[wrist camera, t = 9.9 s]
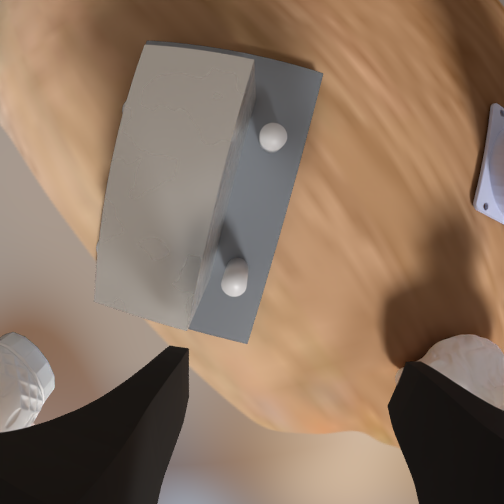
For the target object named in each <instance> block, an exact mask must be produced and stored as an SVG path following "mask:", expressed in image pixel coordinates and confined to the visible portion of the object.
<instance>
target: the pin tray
mask: <svg viewBox="0 0 504 504" xmlns="http://www.w3.org/2000/svg"><path fill="white" fill-rule="evenodd" d="M146 45H158V46H170V47H179V48H188V49H196V50H203V51H210V52H216V53H222V54H228V55H233V56H239V57H244V58H249V59H253V60H254V64H255V84H256V101H255V104H254V108H253V111H252V115H251V118H250V122H249V126H248V129H247V133H246V137H245V140H244V144H243V148H242V152H241V155H240V159H239V163H238V167H237V171H236V174H235V178H234V182H233V186H232V190H231V194H230V198H229V202H228V206H227V210H226V214H225V218H224V222H223V226H222V230H221V234H220V238H219V243H218V247H217V251H216V255H215V259H214V264H213V268H212V272H211V277H210V280H209V282H208V284H207V286H206V289H205V291H204V293H203V296H202V298H201V300H200V302H199V305H198V307H197V309H196V312H195V314H194V316H193V319H192V321H191V323H190V326H189V328H188V329H190V330H194V331H198V332H201V333H205V334H209V335H213V336H217V337H221V338H225V339H229V340H233V341H237V342H241V343H245V344H247V343H248V340H249V337H250V334H251V330H252V327H253V324H254V320H255V317H256V314H257V310H258V307H259V304H260V300H261V297H262V294H263V290H264V287H265V284H266V280H267V277H268V273H269V270H270V267H271V263H272V260H273V256H274V253H275V249H276V246H277V242H278V239H279V235H280V232H281V228H282V225H283V221H284V218H285V214H286V211H287V207H288V204H289V200H290V196H291V193H292V189H293V186H294V182H295V178H296V175H297V171H298V167H299V164H300V160H301V156H302V153H303V149H304V145H305V142H306V138H307V134H308V130H309V127H310V123H311V119H312V115H313V111H314V108H315V104H316V100H317V96H318V92H319V88H320V84H321V80H322V77H323V73H320V72H317V71H314V70H311V69H307V68H304V67H300V66H297V65H293V64H289V63H286V62H282V61H278V60H274V59H270V58H265V57H261V56H256V55H252V54H247V53H242V52H237V51H231V50H226V49H220V48H213V47H207V46H199V45H192V44H183V43H173V42H162V41H147V42H146ZM126 101H127V100H126ZM126 101H125V103H124V105H123V108H122V113H123V112H124V108H125V104H126ZM98 245H99V241H98V243H97V246H96V250H97V254H98Z"/></svg>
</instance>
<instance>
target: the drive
mask: <svg viewBox="0 0 504 504" xmlns="http://www.w3.org/2000/svg"><path fill="white" fill-rule="evenodd" d="M255 101H256V84H255V64H254V60H253V59H249V58H244V57H239V56H233V55H228V54H222V53H216V52H210V51H203V50H196V49H188V48H179V47H170V46H158V45H144V48H143V51H142V54H141V57H140V59H139V62H138V65H137V68H136V71H135V74H134V78H133V81H132V84H131V87H130V91H129V94H128V97H127V101H126V104H125V108H124V112H123V115H122V119H121V123H120V127H119V131H118V135H117V139H116V144H115V148H114V153H113V157H112V162H111V167H110V172H109V177H108V183H107V188H106V194H105V200H104V207H103V214H102V221H101V228H100V236H99V245H98V255H97V265H96V280H95V295H94V302H96V303H99V304H102V305H105V306H108V307H111V308H114V309H117V310H120V311H123V312H126V313H129V314H132V315H135V316H138V317H141V318H144V319H148V320H151V321H154V322H157V323H161V324H164V325H168V326H171V327H174V328H178V329H182V330H185V331H187V330H188V328H189V326H190V323H191V321H192V319H193V316H194V314H195V312H196V309H197V307H198V305H199V302H200V300H201V298H202V296H203V293H204V291H205V289H206V286H207V284H208V282H209V280H210V277H211V272H212V268H213V264H214V259H215V255H216V251H217V247H218V243H219V238H220V234H221V230H222V226H223V222H224V218H225V214H226V210H227V206H228V202H229V198H230V194H231V190H232V186H233V182H234V178H235V174H236V171H237V167H238V163H239V159H240V155H241V152H242V148H243V144H244V140H245V137H246V133H247V129H248V126H249V122H250V118H251V115H252V111H253V108H254V104H255Z"/></svg>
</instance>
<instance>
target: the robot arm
mask: <svg viewBox="0 0 504 504" xmlns="http://www.w3.org/2000/svg"><path fill="white" fill-rule="evenodd" d="M500 112H501V114H500ZM484 203H485V208H483V205H484ZM473 205H474V208H475V210H477V211H479V212H481V213H483V214H485V215H486V216H488V217H490V218H492V219H494V220H496V221H498V222H500V223H501V224H503V225H504V108H503V107H502V106H500V105H499V104H497V103H494V104H492V105H491V107H490V116H489V124H488V132H487V138H486V144H485V150H484V156H483V161H482V166H481V171H480V176H479V180H478V185H477V189H476V193H475V197H474V202H473ZM188 398H189V349H188V348H181V347H175V346H169V347H167V348H166V349H165V350H164V351H163V352H161V353H160V354H159V355H158V356H156V357H155V358H154V359H153V360H152V361H150V362H149V363H148V364H147V365H146V366H145V367H143V368H142V369H141V370H139V371H138V372H137V373H135V374H134V375H133V376H132V377H130V378H129V379H128V380H126V381H125V382H123V383H122V384H120V385H119V386H117V387H116V388H115V389H113V390H112V391H110V392H109V393H107V394H105V395H104V396H102V397H100V398H99V399H97V400H95V401H93V402H91V403H89V404H88V405H86V406H84V407H82V408H80V409H77V410H75V411H73V412H70V413H68V414H65V415H63V416H61V417H58V418H55V419H53V420H50V421H47V422H44V423H41V424H38V425H34V426H30V427H26V428H22V429H18V430H13V431H8V432H0V504H157V503H158V498H159V493H160V489H161V485H162V482H163V478H164V475H165V472H166V470H167V467H168V464H169V461H170V458H171V456H172V452H173V450H174V447H175V445H176V442H177V439H178V436H179V433H180V431H181V428H182V425H183V421H184V417H185V413H186V408H187V403H188ZM388 410H389V415H390V419H391V423H392V427H393V430H394V433H395V435H396V438H397V440H398V443H399V445H400V448H401V450H402V453H403V455H404V457H405V460H406V462H407V465H408V468H409V470H410V473H411V475H412V478H413V481H414V484H415V488H416V492H417V496H418V501H419V504H504V411H503V410H501V409H499V408H497V407H495V406H493V405H491V404H489V403H488V402H486V401H484V400H482V399H481V398H479V397H477V396H476V395H474V394H472V393H471V392H469V391H468V390H466V389H464V388H463V387H461V386H460V385H458V384H457V383H455V382H454V381H452V380H451V379H449V378H448V377H446V376H445V375H443V374H442V373H440V372H438V371H437V370H435V369H434V368H432V367H430V366H429V365H427V364H425V363H423V362H421V361H415V362H406V364H405V366H404V369H403V371H402V374H401V376H400V379H399V381H398V384H397V386H396V388H395V391H394V393H393V395H392V397H391V400H390V402H389V404H388Z"/></svg>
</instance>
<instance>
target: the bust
mask: <svg viewBox="0 0 504 504" xmlns="http://www.w3.org/2000/svg"><path fill="white" fill-rule="evenodd" d="M418 361H421V362H423V363H425V364H427V365H429V366H430V367H432V368H434V369H435V370H437V371H438V372H440V373H442V374H443V375H445V376H446V377H448V378H449V379H451V380H452V381H454V382H455V383H457V384H458V385H460V386H461V387H463V388H464V389H466V390H468V391H469V392H471V393H472V394H474V395H476V396H477V397H479V398H481V399H482V400H484V401H486V402H488V403H489V404H491V405H493V406H495V407H497V408H499V409H501V410H503V411H504V354H503V353H502V352H501V349H500V348H499V347H498V346H497V345H496V344H494V343H493V342H492V341H490V340H489V339H487V338H482V337H479V336H477V335H472V334H467V335H463V334H461V335H457V336H453V337H451V338H448V339H444V340H442V341H439V342H437V343H436V344H434V345H433V346H432V347H431V348H430V349H429V350H428V352H427V354H426V355H425V356H424V357H423V358H421V359H419V360H418ZM403 369H404V367H403V368H400V369H399V370H398V371H397V373H396V376H395V381H396V386H397V384H398V381H399V379H400V376H401V374H402V371H403Z"/></svg>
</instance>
